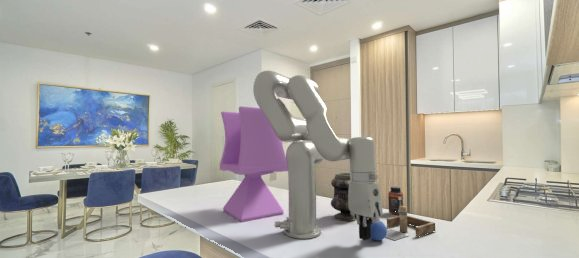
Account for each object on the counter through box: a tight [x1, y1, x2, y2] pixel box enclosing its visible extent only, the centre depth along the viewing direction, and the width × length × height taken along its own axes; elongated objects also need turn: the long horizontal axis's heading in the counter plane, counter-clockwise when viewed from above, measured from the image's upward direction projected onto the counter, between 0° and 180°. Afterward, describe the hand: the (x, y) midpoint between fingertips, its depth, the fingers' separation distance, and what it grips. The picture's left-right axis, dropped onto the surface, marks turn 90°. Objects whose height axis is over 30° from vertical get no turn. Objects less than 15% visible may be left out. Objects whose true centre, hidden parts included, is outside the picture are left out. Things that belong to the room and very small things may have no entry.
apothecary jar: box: [330, 172, 357, 222], centre depth 106 cm, size 12×12×18 cm
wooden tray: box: [386, 215, 436, 238], centre depth 91 cm, size 10×12×3 cm
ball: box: [370, 220, 388, 241], centre depth 81 cm, size 6×6×6 cm
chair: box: [219, 106, 288, 223], centre depth 114 cm, size 22×22×45 cm
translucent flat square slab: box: [385, 228, 406, 241], centre depth 86 cm, size 8×7×1 cm
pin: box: [398, 205, 408, 233], centre depth 89 cm, size 2×2×8 cm
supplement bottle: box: [387, 186, 404, 216], centre depth 112 cm, size 6×6×11 cm
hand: (365, 238), depth 78 cm, fingers closed
